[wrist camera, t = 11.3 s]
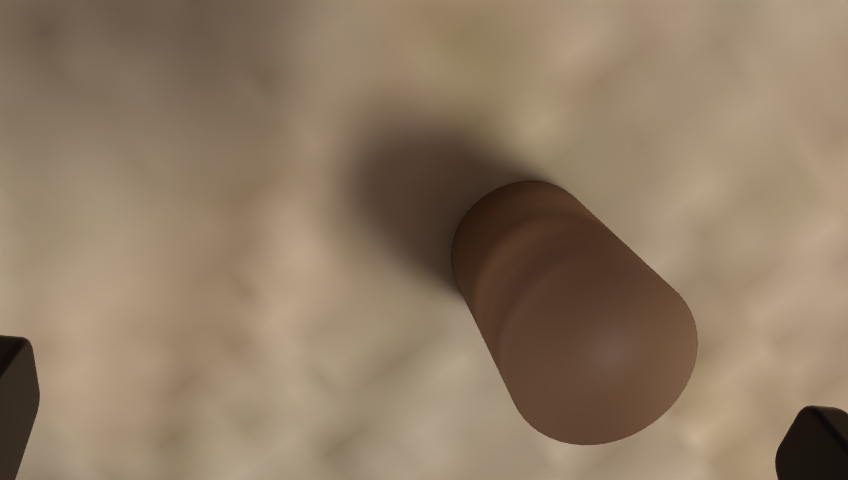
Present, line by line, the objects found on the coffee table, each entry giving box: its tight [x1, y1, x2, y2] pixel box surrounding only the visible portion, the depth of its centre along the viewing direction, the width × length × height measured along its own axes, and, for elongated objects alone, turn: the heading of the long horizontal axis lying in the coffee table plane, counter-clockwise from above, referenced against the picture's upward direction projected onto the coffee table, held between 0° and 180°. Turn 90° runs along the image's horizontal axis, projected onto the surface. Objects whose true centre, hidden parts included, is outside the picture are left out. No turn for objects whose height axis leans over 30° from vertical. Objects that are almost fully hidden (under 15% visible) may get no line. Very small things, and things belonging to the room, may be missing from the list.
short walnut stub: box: [451, 181, 698, 445], centre depth 19 cm, size 4×4×6 cm
